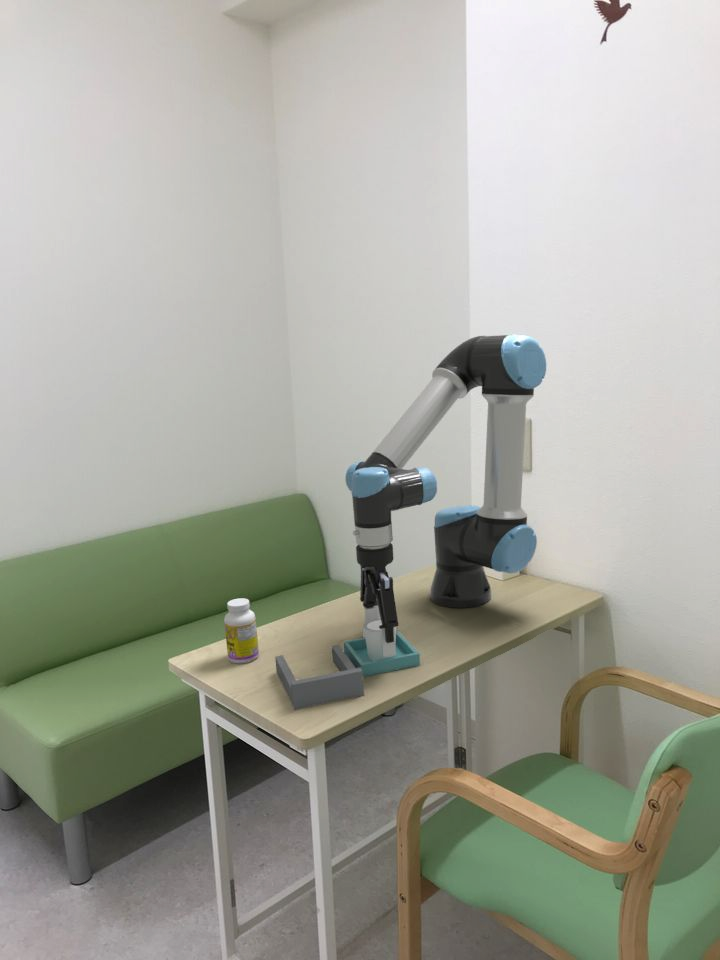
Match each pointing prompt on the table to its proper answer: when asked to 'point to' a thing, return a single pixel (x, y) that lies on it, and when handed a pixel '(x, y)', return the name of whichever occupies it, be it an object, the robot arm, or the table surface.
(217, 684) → the table surface
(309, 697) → the bay
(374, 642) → the shot glass
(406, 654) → the tray
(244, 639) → the supplement bottle
